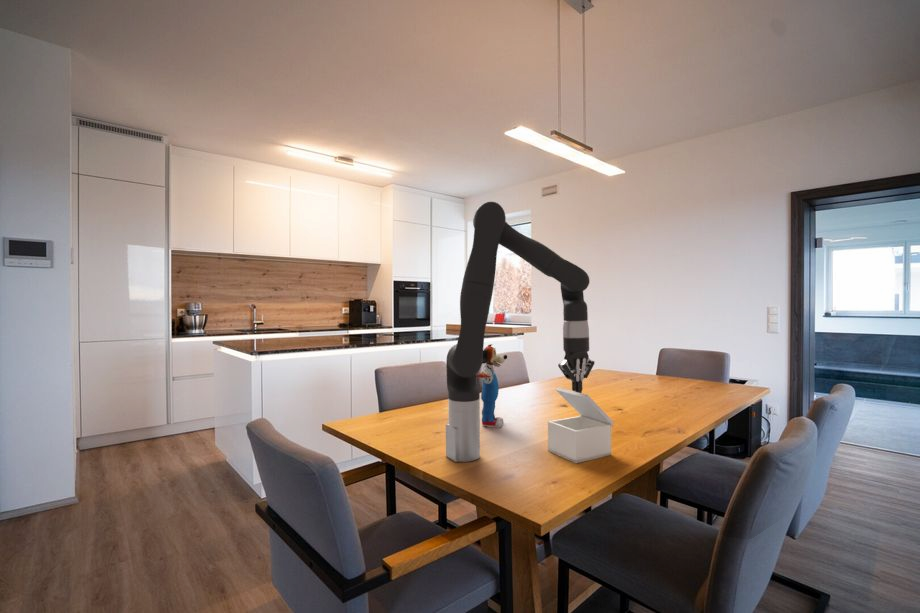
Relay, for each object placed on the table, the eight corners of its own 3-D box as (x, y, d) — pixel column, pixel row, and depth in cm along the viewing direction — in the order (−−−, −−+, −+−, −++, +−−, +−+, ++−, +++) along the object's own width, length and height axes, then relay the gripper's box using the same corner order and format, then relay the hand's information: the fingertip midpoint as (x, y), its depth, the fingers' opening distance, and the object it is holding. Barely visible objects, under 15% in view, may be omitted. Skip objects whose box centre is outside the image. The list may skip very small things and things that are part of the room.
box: (575, 463, 121) (575, 431, 121) (548, 450, 132) (548, 421, 132) (611, 454, 128) (611, 424, 128) (581, 443, 139) (581, 415, 139)
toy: (502, 439, 143) (502, 349, 143) (472, 437, 145) (472, 348, 145) (511, 413, 176) (511, 340, 176) (486, 412, 178) (486, 340, 178)
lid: (586, 397, 123) (588, 394, 123) (555, 389, 134) (557, 386, 134) (612, 425, 128) (614, 421, 128) (580, 415, 139) (582, 412, 139)
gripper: (568, 337, 123) (569, 398, 123) (601, 335, 129) (602, 392, 129) (550, 336, 129) (552, 393, 130) (583, 333, 136) (584, 388, 136)
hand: (577, 393), depth 129 cm, fingers closed
